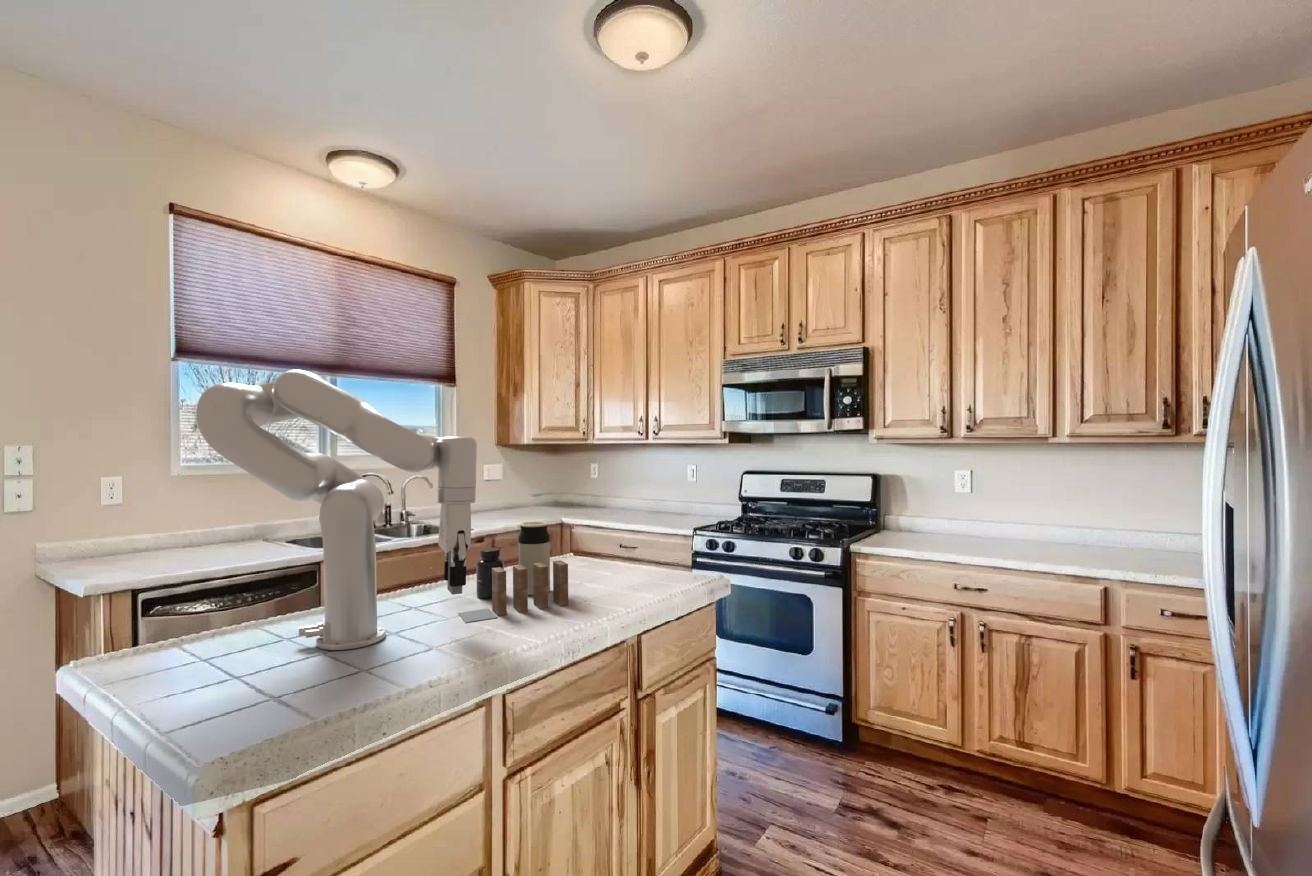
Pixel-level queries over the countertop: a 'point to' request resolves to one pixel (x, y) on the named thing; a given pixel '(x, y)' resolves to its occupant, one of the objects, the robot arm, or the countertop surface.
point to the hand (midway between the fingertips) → (454, 581)
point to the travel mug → (534, 548)
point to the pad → (477, 615)
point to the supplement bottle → (487, 571)
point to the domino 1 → (451, 589)
